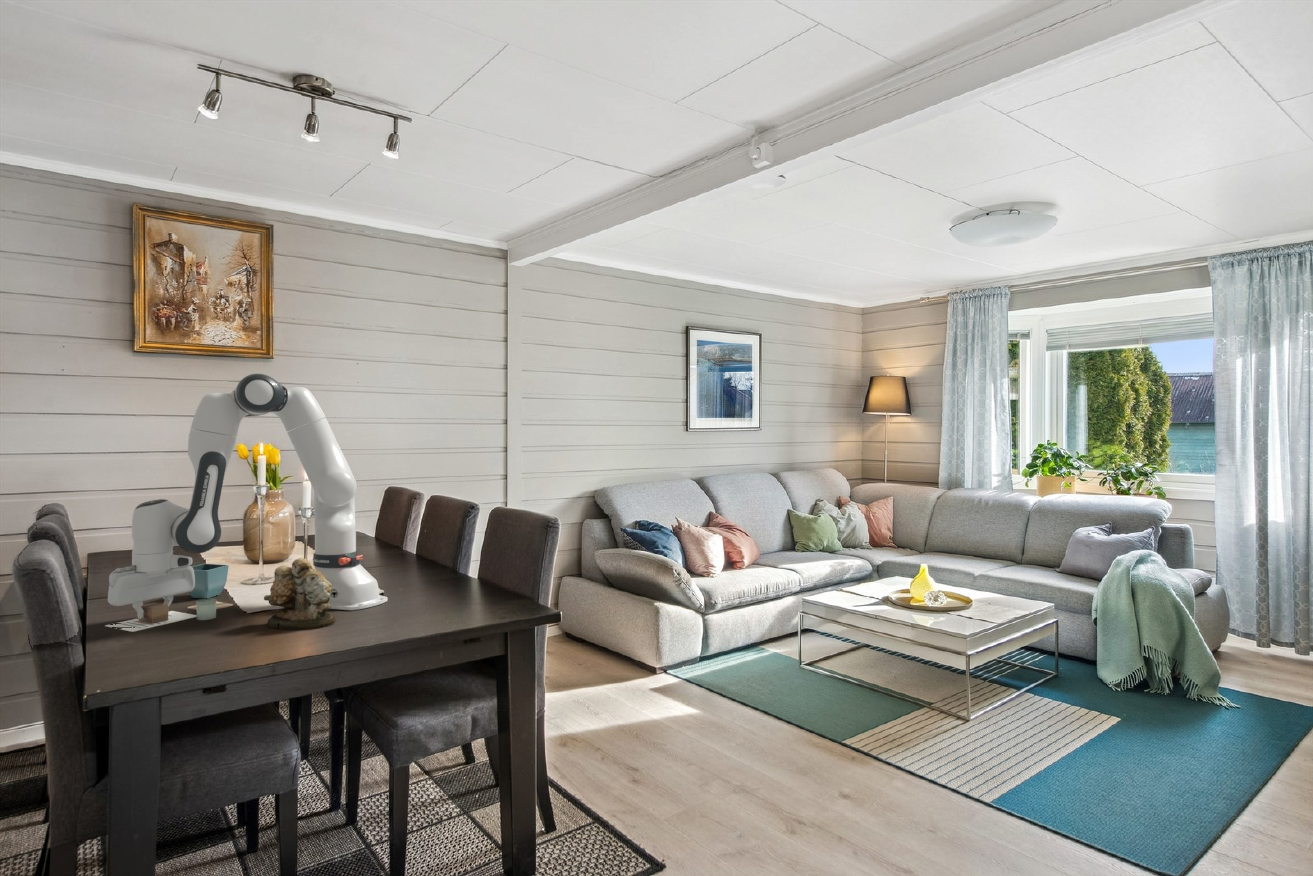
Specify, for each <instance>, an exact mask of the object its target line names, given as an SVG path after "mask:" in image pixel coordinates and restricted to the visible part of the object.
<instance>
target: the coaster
mask: <svg viewBox="0 0 1313 876" xmlns="http://www.w3.org/2000/svg"><path fill="white" fill-rule="evenodd" d="M231 606H234V604H233V603H229V602H228V603H227V602H222V601H217V600H216V610H218V609H223V608H228V607H231ZM186 609H187V610H194V611H197V604H195V605H191V606H187V608H186Z"/></svg>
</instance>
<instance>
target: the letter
mask: <svg viewBox="0 0 1313 876" xmlns="http://www.w3.org/2000/svg"><path fill="white" fill-rule="evenodd" d="M193 618H197V614H192V613H187V612H180V611H175V610H170V611H169V612H168V620H167V621H163V622H158V623H154V624H151V623H146V622H141V621H138V619H137V618H133V619H128V620H124V621H120V622H118V623H121V624H116V625H115V624H114V623H112V624H113V625H110V624H106V625H104V627H108V628H112V627H132V628H122V629H120V630H123V631H126V632H127V631H128V632H137V631H142V630H146V629H152V628H154V627H158V626H164V625H168V624H171V623H172V624H173V623H176V622H180V621H185V620H188V619H189V620H190V619H193ZM133 627H135V628H133Z"/></svg>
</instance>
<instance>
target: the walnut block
mask: <svg viewBox="0 0 1313 876" xmlns="http://www.w3.org/2000/svg"><path fill="white" fill-rule="evenodd" d="M141 608H142V609H143V610H145V611H147V618H143V619H138V621H141V622H146V623H151V624H154V623H158V622H163V621H167V620H168V605H166V604H163V603H160V602H159V603H158V602H154V601H153V602H150V603H145V604H144V603H143V605H142V606H141Z"/></svg>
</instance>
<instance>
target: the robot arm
mask: <svg viewBox="0 0 1313 876" xmlns="http://www.w3.org/2000/svg"><path fill="white" fill-rule="evenodd" d="M269 413H273V414H275V415H276V416H277V417H278V418H279V420H281V422H282V425H283V426H284V429H285V431H286V432H287V435H288V437H289V440H290V441H291V443H292V446H293V448H294V449H295V453H296V454H297V457H298V458H299V461H300V463H301V465H302V467H303V469H304V471H305V473H306V476H307V478H308V480H309V482H310V485H311V487H312V489H313V491H314V494H313V495H314V497H313V498H314V499H313V500H314V553H313V557H312V564H313V565H312V566H313V567H314V569H316V571H319V572H321V573H322V575H323V576H324V577H325V578H326V580H327V581H329V582H330V583H331V585H332V586H331V588H332V590H331V591H332V593H331V596H330V599H329V602H328V604H330V605H331V609H330V610H341V611H342V610H343V611H357V610H362V609H367V608H371V607H375V606H378V605H381V604H384V603H386V602H388V597H387V596H384V595H381V594H380V592H379V584H378V580H377V579H376V578H375V577H374V576H372V574H371V573H369V571H367V570H366V569H365V568H364V567H363V566H362V564H361V563H362V561H361V560H363V559H364V558H363V556H364V555H363V554H360V555H359V553H358V552H359V551H358V550H357V528H356V527H357V522H356V521H357V520H356V501H355V500H356V498H355V496H356V494H357V491H358V485H357V481H356V478H355V476H354V474H353V472H352V469H351V466H349V463H348V461H347V459H346V458H345V454H344V453H343V450H342V449H341V446H340V445H339V442H338V441H337V438H336V436H335V434H334V432H333V430H332V427H331V426H330V423H329V421H328V418H327V417H326V414H325V413H324V411H323V409H322V407H321V405H320V404H319V402H318V401H317V399H316V397H315V396H314V395H313V393H312V392H311V391H310V390H309V389H308V388H306V387H303V386H293V387H290V388H289V387H288V388H286V387H285V385H282V384H281V383H280V382H279V381H277V380H275V378H273V377H271V376H269V375H267V374H264V373H251V374H248V375H246V376H245V377H243V378H242V379H241V380H240V381H238V383H237V385H236V387H235V389H234V390H233V391H232V392H229V393H225V392H210V393H207V394H205V395H204V396H203V397H202V398H201V400H200V401H199V404H198V406H197V408H196V410H195V413H194V416H193V419H192V422H191V426H190V430H189V434H188V440H187V455H188V457H189V459H190V462H191V464H192V466H193V469H194V485H193V488H192V489H193V491H192V495H191V500H190V506H189V508H186V507H183V506H180V505H179V504H176V503H174V502H171V501H170V500H169V499H165V498H164V499H163V498H162V499H161V498H160V499H155V500H154V499H153V500H148V501H143V502H142V503H140V504H138V505H137V506H136V507H135V508H134V510H133V514H132V520H131V538H132V541H133V546H132V551H131V566H126V567H118V568H115V570H113V571H112V572H110V574H109V575H108V582H109V583H108V584H109V585H108V593H107V603H109V605H111V606H115V607H121V606H126V605H131V606H132V607H133V609H134V610H135V611H136V613H137V618H138V619H143V618H147V611H145V610H143V609H142V608H141V606H142V605H144V602H145V601H149V600H151V601H152V600H155V599H159V598H162V599H163V600H164V601H163V603H162V604H166V605H168V612H169V607H170V606H171V604H172V602H173V601H174V596H175V595H180V594H184V593H188V592H190V591H192V590H193V589H194V587H195V575H194V570H193V568H192V567H193V566H191V565H192V564H193V558H192V557H191V556H185V555H181V554H176V553H173V552H174V547H175V546H178V547H180V549H182V550H183V551H185V552H187V553H189V554H197V555H198V554H205V553H206V552H209V551H211V550H212V549H213V548H214V547H216V546H217V544H218V543H219V541H220V540H221V537H222V526H221V522H220V520H219V506H220V499H221V495H222V490H223V486H224V485H223V484H224V479H225V475H226V472H227V468H228V465H229V463H230V460H231V458H232V454H233V451H234V448H235V444H236V442H237V441H236V440H237V436H238V432H239V427H240V425H241V422H242V420H243V419H244V418H245V417H257V416H262V415H267V414H269ZM361 557H362V558H361Z"/></svg>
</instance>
